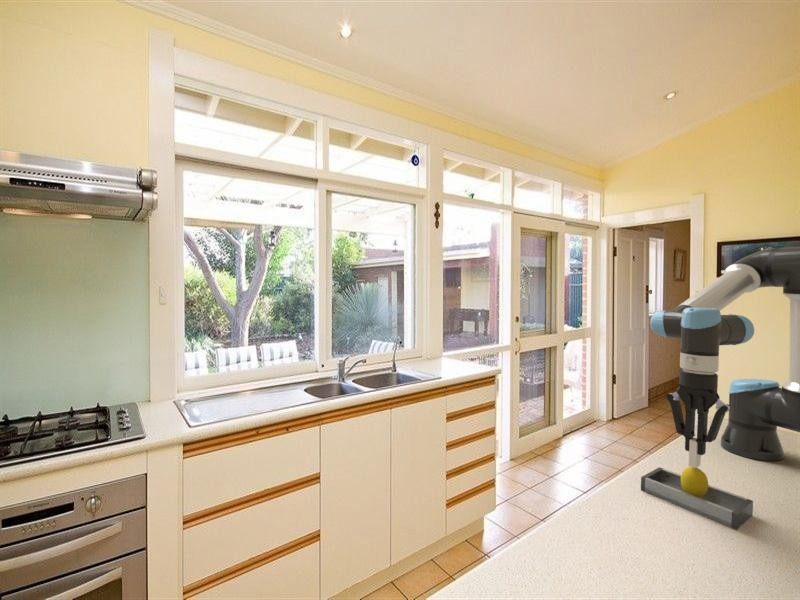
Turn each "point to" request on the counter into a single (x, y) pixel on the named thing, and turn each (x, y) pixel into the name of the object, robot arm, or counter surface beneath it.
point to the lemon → (694, 482)
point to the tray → (699, 499)
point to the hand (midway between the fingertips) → (694, 465)
